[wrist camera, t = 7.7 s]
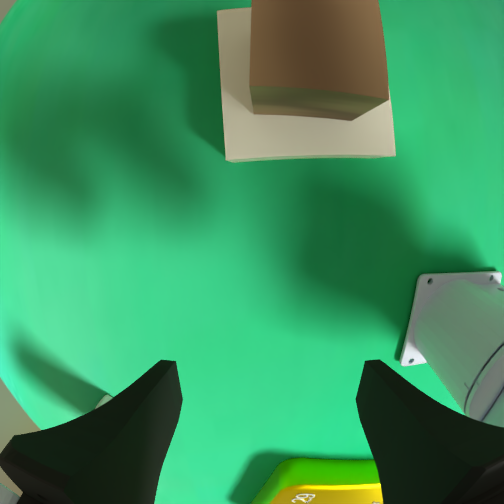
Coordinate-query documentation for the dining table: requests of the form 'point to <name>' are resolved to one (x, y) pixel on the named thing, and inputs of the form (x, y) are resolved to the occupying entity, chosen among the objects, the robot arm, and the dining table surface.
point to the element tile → (322, 482)
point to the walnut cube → (317, 58)
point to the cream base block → (282, 126)
